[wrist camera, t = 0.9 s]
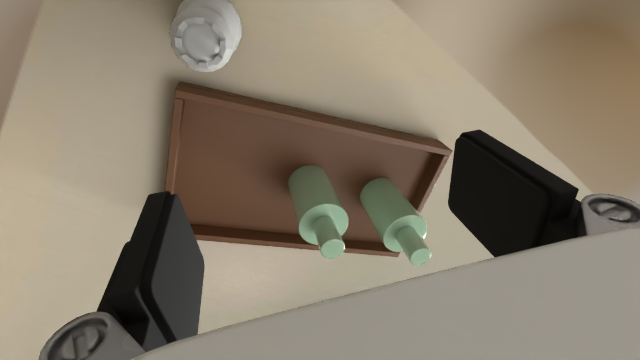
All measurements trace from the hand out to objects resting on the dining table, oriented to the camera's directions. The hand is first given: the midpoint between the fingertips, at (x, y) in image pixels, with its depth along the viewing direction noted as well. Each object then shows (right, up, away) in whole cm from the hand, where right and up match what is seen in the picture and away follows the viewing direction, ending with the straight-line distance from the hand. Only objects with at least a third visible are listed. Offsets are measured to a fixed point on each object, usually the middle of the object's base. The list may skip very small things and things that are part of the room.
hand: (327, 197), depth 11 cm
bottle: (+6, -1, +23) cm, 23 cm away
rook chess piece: (-8, +12, +13) cm, 19 cm away
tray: (-2, +1, +21) cm, 21 cm away
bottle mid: (-1, 0, +20) cm, 20 cm away
